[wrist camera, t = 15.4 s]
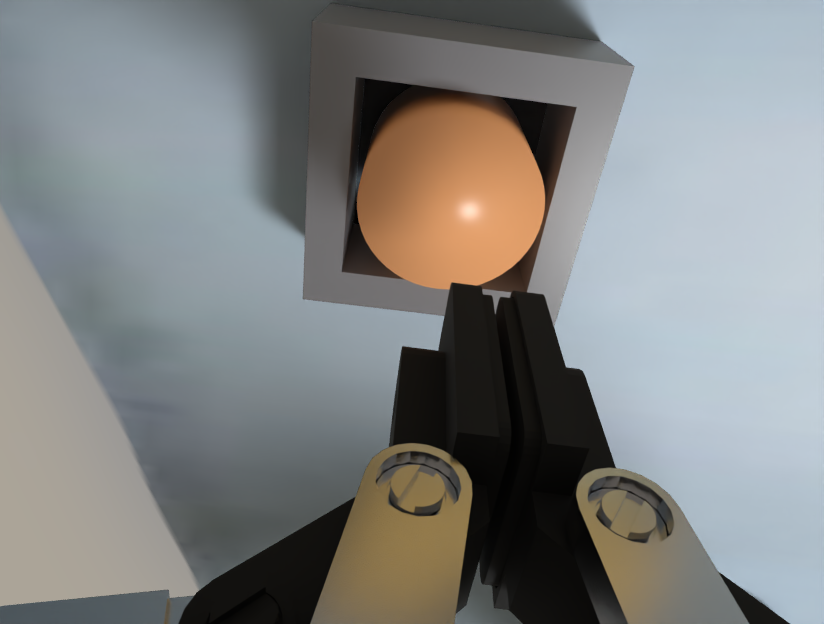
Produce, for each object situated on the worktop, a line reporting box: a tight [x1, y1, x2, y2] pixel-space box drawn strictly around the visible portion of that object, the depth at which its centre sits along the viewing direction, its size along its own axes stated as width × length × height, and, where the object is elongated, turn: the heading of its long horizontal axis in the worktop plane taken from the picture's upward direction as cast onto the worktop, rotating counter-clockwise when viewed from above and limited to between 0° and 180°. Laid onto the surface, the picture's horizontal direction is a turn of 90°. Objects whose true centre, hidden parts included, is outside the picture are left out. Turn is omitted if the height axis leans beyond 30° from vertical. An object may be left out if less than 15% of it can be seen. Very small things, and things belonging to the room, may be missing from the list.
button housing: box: [303, 3, 634, 326], centre depth 16 cm, size 7×7×3 cm
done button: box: [357, 85, 545, 289], centre depth 16 cm, size 4×4×4 cm
